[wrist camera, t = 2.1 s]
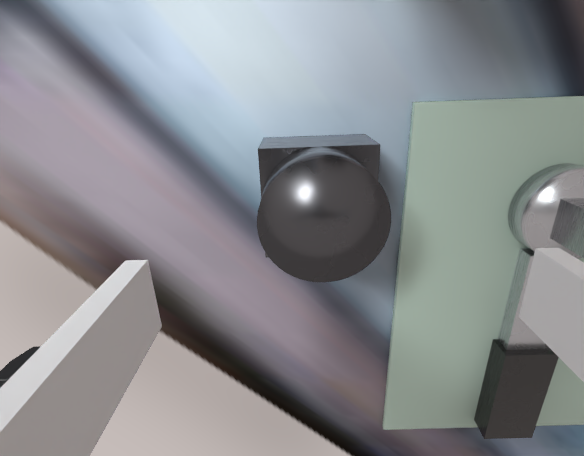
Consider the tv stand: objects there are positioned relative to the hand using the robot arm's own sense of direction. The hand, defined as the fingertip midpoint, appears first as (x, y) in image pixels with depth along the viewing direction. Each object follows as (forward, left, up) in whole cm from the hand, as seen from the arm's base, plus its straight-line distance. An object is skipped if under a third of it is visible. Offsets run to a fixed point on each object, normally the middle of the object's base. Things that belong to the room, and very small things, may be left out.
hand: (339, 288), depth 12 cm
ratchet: (+10, +16, -12) cm, 22 cm away
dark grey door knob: (0, 0, -12) cm, 12 cm away
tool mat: (+9, +16, -12) cm, 22 cm away
